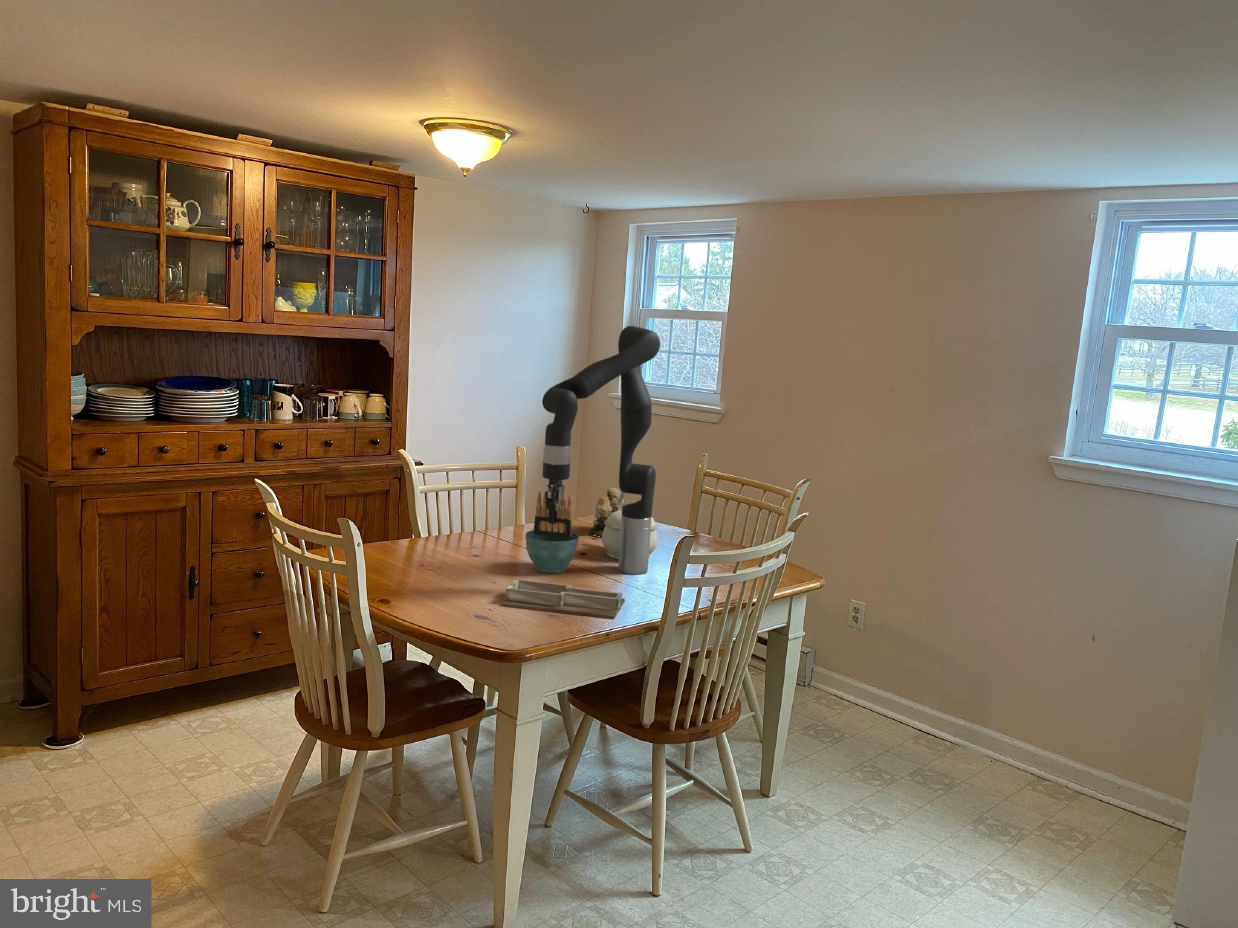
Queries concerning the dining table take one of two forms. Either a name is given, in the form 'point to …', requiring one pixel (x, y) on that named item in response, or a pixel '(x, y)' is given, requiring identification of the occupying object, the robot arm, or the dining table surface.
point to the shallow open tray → (562, 599)
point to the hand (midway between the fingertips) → (553, 522)
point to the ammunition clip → (556, 529)
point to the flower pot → (551, 551)
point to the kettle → (614, 528)
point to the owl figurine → (605, 510)
